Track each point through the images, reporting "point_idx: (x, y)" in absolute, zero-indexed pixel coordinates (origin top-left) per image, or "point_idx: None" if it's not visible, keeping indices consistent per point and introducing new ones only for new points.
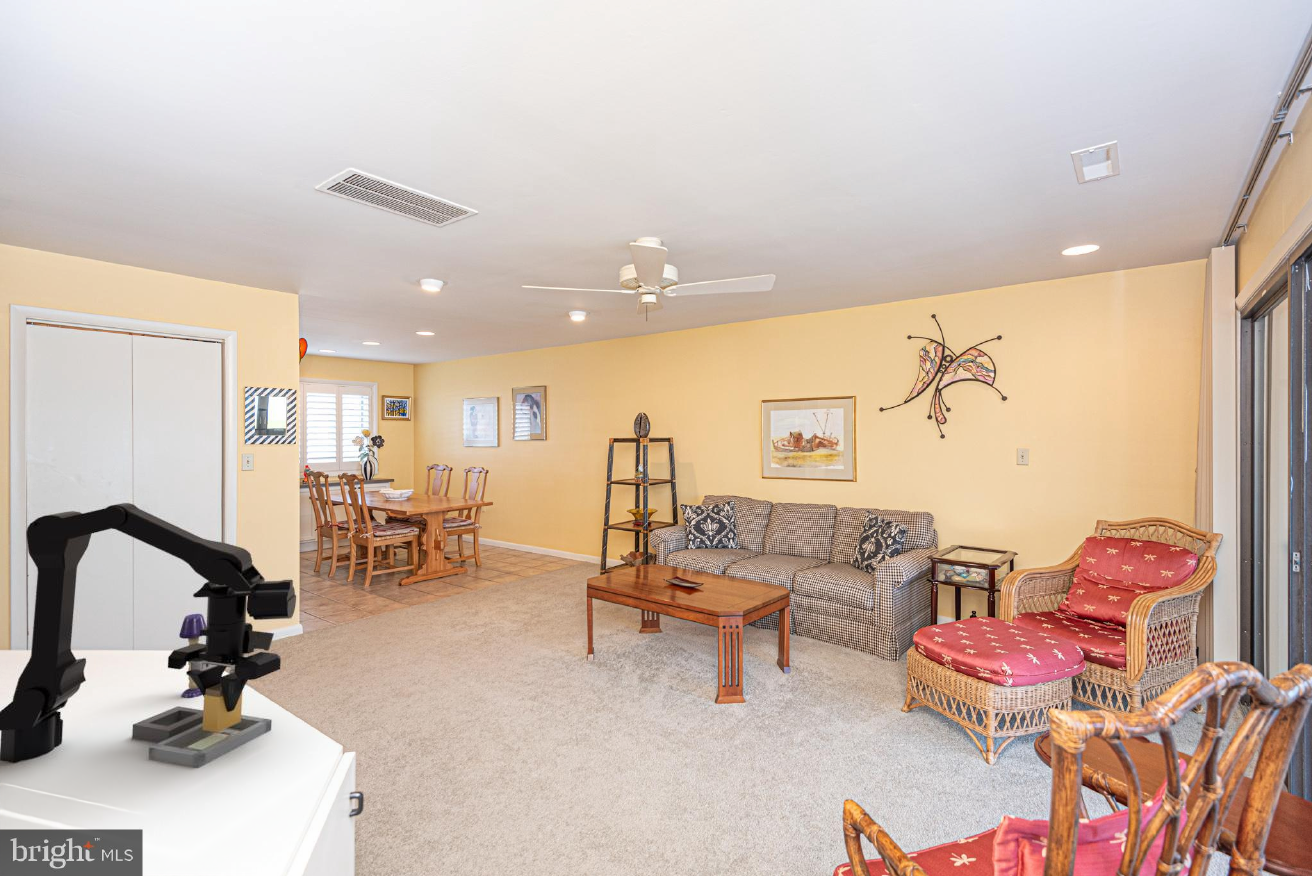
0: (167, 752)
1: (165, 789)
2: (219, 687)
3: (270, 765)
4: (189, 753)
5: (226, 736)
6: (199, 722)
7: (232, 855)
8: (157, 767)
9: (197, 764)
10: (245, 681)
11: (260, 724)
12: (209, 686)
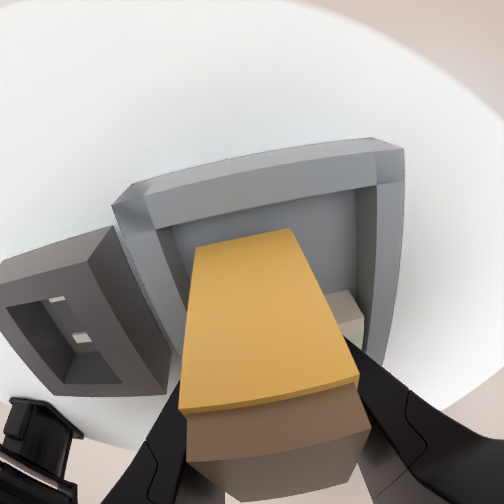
0: None
1: None
2: (293, 487)
3: (477, 267)
4: None
5: (362, 325)
6: (120, 301)
7: (498, 365)
8: None
9: None
10: (463, 439)
11: (398, 205)
12: (215, 497)
